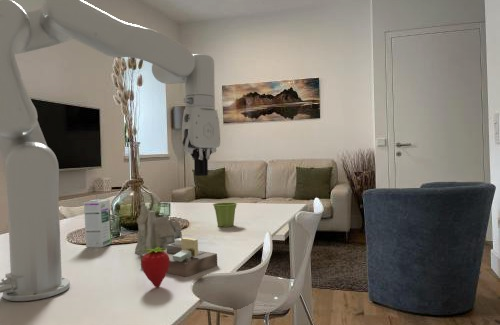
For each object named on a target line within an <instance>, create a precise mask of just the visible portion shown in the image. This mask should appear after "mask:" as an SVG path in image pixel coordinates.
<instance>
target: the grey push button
mask: <svg viewBox="0 0 500 325" xmlns="http://www.w3.org/2000/svg"><path fill="white" fill-rule="evenodd" d="M175 246H179V247H182V246H181V238H178V239H175Z"/></svg>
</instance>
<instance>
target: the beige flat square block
mask: <svg viewBox="0 0 500 325" xmlns="http://www.w3.org/2000/svg"><path fill="white" fill-rule="evenodd" d="M198 244H199V242H198V239H197V238H190V237H182V238H181V246H182V250H187V251H191V254H192V256H193V257H196V256H198V251H199V245H198Z"/></svg>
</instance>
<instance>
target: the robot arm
mask: <svg viewBox="0 0 500 325" xmlns="http://www.w3.org/2000/svg"><path fill="white" fill-rule="evenodd" d="M71 40H75V41H76V42H78V43H81V44H83V45H85V46H86V47H89V48H91V49H93V50H95V51H97V52H100V53H102V54H103V55H105V56H109V57H114V58H133V59H138V60H142V61H144V62H146V63H150V64H152V65H151V73H152V76H153V77H154V78H155V79H156V80H157V81H158V82H160V83H162V84H166V85H175V84H184V92H185V93H184V95H185V97H184V98H183V103H184V104H185V108H184V110H183V115H182V123H181V143H182V147H184V149H183V151H184V153H187V154H189V155H190V156H191V159H192V160H193V162H194V163H193V164H194V176H197V177H199V176H200V177H202V176H203V177H206V176H208V175H209V171H208V169H209V168H208V166H209V165H208V164H209V162H208V160H210V156H211V155H212V154H214V153H217V148H219V147H221V128H220V121H219V120H220V119H219V114H218V110H217V109H216V106H215V105H216V103H215V100H216V99H215V98H216V97H215V95H216V94H215V87H216V85H215V59H214V58H213V57H212V56H211V55H209V54H202V53H195V54H194V53H193V52H192V51H191V50H190V49H189V48H188V47H187V46H185V45H184V44H182V43H181V42H179V41H177V40H175V39H174V38H171V37H170V36H168V35H166V34H163V33H162V32H160V31H157V30H155V29H152V28H147V27H143V26H140V25H138V24H132V23H128V22H126V21H123V20H120V19H118V18H117V17H115V16H113V15H111V14H109V13H107V12H105V11H103V10H101V9H99V8H98V7H95V6H94V5H92V4H90V3H88V2H87V1H84V0H44V1H43V3H42V6H41V8H39V9H35V10H30V11H27V12H26V10H25V9H24V8H23V7H22V6H21V5H20V4H18V3H17V2H16V1H14V0H0V155H1V157H2V161H3V162H4V165H5V180H6V181H5V183H6V185H5V186H6V197H7V198H6V201H7V202H6V203H7V204H6V205H7V221H8V242H9V262H10V263H9V264H10V265H9V266H10V272H9V273H8V272H7V273H5V276H4V278H2V279H0V294H1V293H2V297H3V299H4V300H7V301H11V302H29V301H38V300H42V299H46V298H51V297H53V296H57V295H59V294H62V293H64V292H65V291H68V289H69V288H70V287H71V282H70V279H68V278H66V277H62V276H63V275H62V256H61V255H62V253H61V252H62V249H61V227H60V226H61V225H60V204H59V202H60V201H59V198H60V197H59V196H60V195H59V188H60V187H59V181H60V177H59V176H60V168H59V167H60V166H59V161H58V159H57V156H56V154H55V152H54V151H53V150H52V148H50V147H49V146H48V144H47V141H46V139H45V137H44V134H43V131H42V128H41V127H40V123H39V121H38V117H39V116H38V111H37V108H36V107H35V105H34V102H32V99H31V97H30V95H29V92H28V90H27V88H26V85H25V82H24V80H23V78H22V75H21V72H20V69H19V68H20V67H19V65H18V62H17V60H16V55H20V54H24V53H28V52H32V51H37V50H41V49H44V48H49V47H53V46H56V45H60V44H64V43H66V42H69V41H71Z"/></svg>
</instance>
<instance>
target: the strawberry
mask: <svg viewBox="0 0 500 325" xmlns="http://www.w3.org/2000/svg"><path fill="white" fill-rule="evenodd" d="M152 242H153V241H152ZM153 243H154V242H153ZM154 244H155V243H154ZM155 245H156V244H155ZM156 246H157V245H156ZM166 249H167V248H166ZM163 250H165V249H160V248H159V247H157V248H155V250H154V249H145V250H142V251H150V252H148V253H147V254H145V255H144V256H143V258H142V263H141V262H140V266H141V265H142V267H141V269H142V271H143V274H144V275H145V276H146V278H147V279H148V280H149V281H150V283H152V285H153V287H155V288H159V287H160V285H161V284H162V282H163V281H164V279H165V278H166V274H168V273H167V271H168V268H169V263H170V260H169V256H168V255H167V253H165V252H164V251H163Z"/></svg>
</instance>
